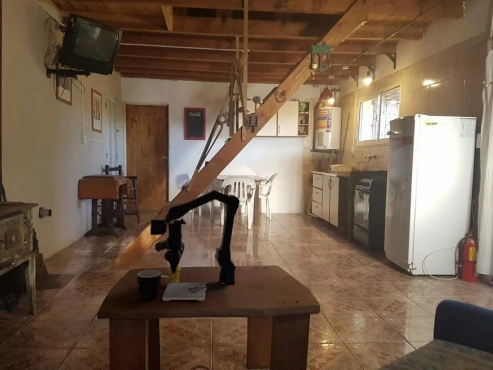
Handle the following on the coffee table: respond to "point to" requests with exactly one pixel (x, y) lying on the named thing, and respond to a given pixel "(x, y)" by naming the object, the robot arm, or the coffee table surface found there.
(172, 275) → the pressure relief valve
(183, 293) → the stand
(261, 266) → the coffee table surface
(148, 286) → the mug
